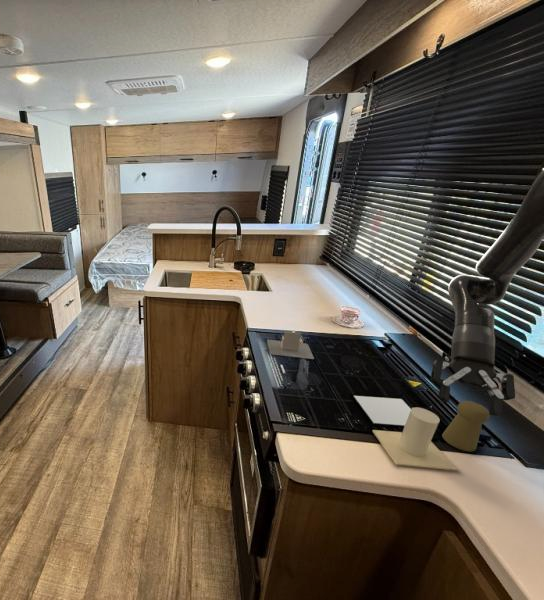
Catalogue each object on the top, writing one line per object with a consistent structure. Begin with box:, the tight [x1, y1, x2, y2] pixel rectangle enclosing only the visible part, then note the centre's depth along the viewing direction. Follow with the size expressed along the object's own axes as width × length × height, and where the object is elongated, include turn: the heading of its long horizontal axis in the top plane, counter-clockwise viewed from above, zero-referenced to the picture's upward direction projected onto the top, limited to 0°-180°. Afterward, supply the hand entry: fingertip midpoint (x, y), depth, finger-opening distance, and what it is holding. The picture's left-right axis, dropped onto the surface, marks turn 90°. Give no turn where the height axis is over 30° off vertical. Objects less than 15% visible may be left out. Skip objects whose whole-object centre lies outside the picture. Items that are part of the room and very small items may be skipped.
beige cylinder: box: [398, 407, 441, 457], centre depth 71 cm, size 5×5×10 cm
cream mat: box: [372, 429, 457, 471], centre depth 73 cm, size 12×10×1 cm
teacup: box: [331, 305, 365, 329], centre depth 135 cm, size 12×12×6 cm
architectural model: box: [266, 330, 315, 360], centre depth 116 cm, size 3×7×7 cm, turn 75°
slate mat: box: [352, 395, 412, 428], centre depth 85 cm, size 13×11×1 cm
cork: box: [441, 400, 491, 453], centre depth 73 cm, size 6×6×11 cm
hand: (469, 408), depth 74 cm, fingers open, 8 cm apart
